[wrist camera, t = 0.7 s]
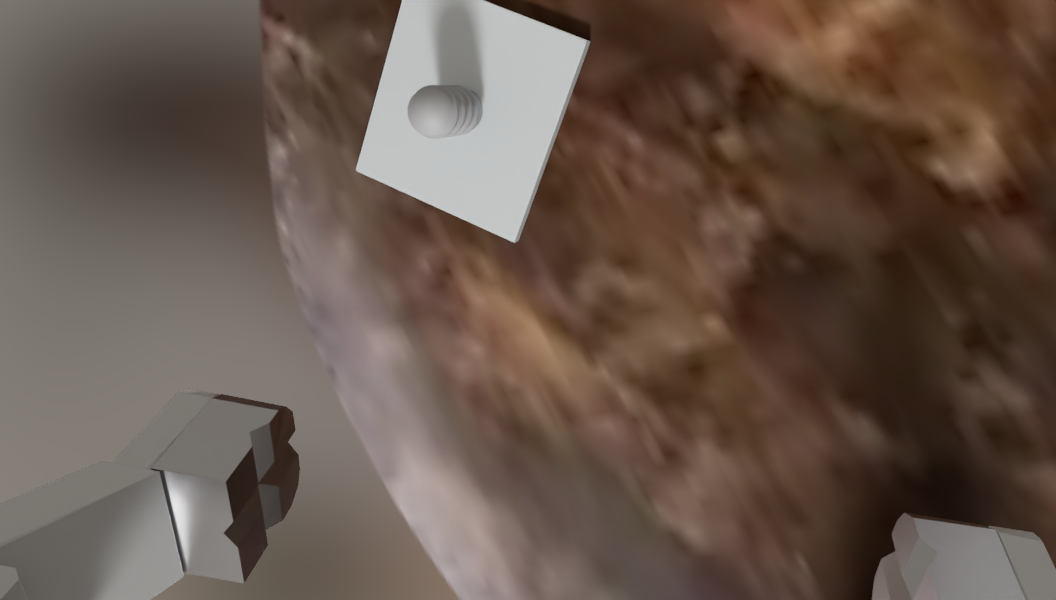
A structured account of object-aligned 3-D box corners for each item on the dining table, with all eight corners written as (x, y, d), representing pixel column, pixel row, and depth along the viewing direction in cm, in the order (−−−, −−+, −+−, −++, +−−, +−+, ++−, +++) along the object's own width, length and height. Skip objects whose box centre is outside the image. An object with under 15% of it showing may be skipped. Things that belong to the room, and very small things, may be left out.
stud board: (416, -27, 50) (368, -40, 45) (590, 41, 47) (562, 35, 42) (361, 169, 54) (312, 178, 49) (518, 240, 52) (485, 257, 47)
